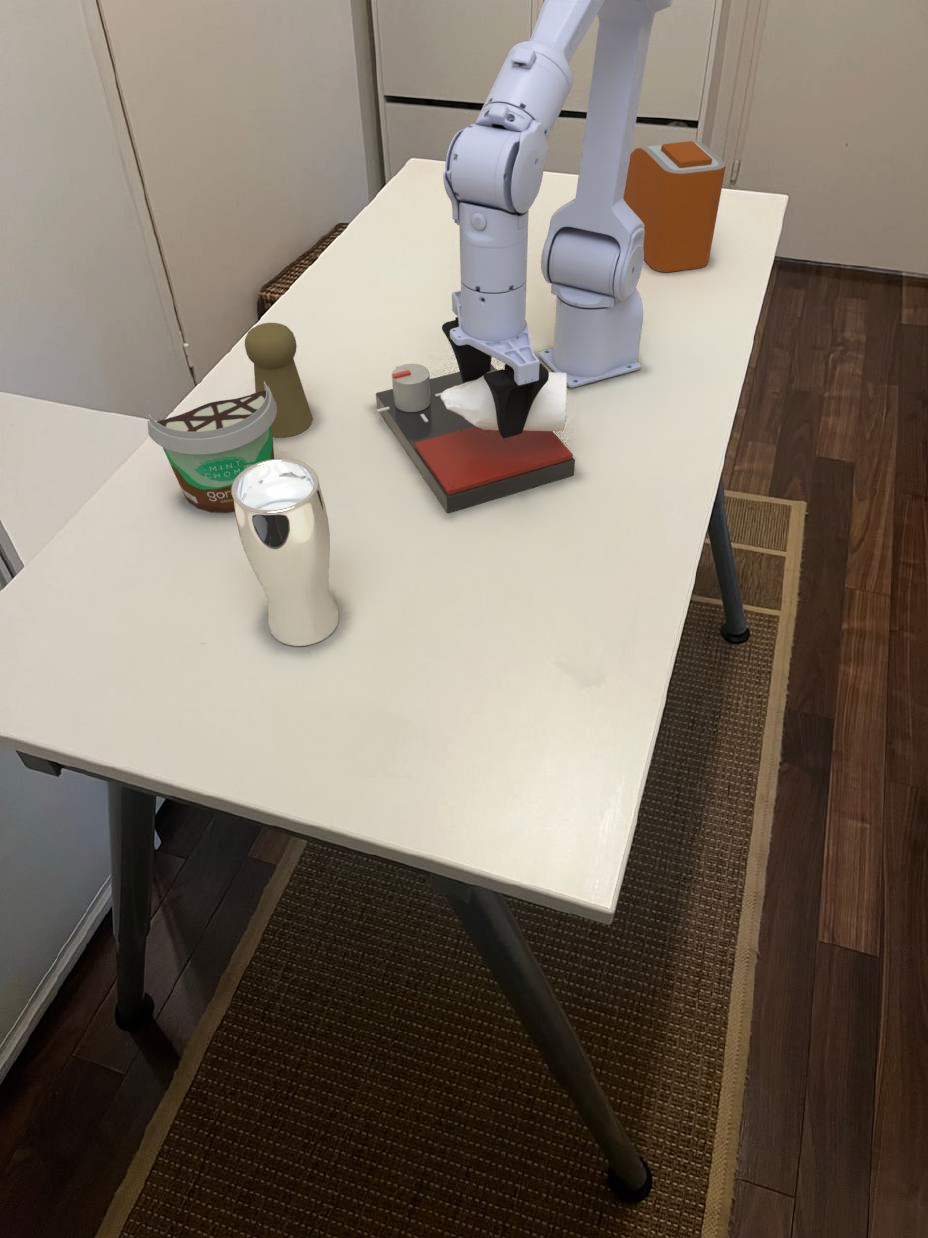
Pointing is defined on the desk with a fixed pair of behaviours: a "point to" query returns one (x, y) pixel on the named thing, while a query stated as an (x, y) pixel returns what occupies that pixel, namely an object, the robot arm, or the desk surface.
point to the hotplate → (488, 456)
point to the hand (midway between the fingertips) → (493, 411)
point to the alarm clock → (675, 202)
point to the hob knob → (411, 387)
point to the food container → (217, 446)
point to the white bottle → (480, 409)
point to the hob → (446, 421)
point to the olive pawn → (279, 376)
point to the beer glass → (288, 547)
